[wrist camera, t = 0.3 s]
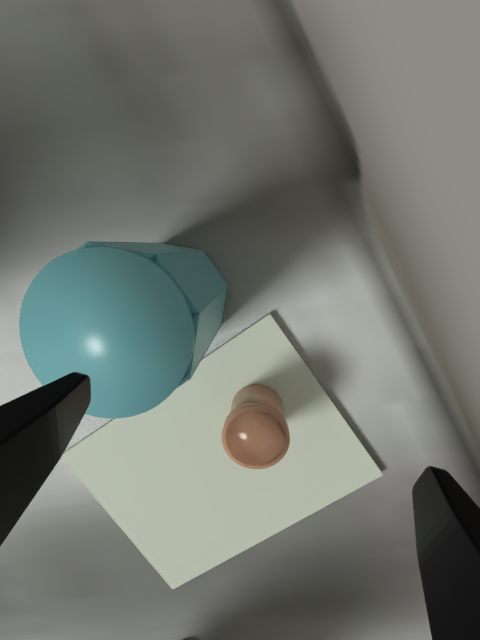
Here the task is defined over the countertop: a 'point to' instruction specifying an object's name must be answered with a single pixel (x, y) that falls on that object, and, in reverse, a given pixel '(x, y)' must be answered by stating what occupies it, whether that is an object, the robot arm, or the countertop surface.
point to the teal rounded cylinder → (123, 321)
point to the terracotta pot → (256, 428)
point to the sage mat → (220, 460)
